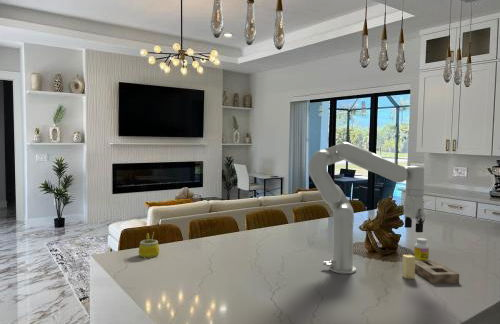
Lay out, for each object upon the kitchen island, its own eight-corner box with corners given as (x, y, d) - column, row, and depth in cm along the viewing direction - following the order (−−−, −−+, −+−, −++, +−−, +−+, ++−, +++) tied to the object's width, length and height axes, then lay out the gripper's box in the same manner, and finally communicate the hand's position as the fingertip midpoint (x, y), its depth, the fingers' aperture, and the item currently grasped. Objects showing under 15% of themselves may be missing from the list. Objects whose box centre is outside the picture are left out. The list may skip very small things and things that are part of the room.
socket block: (432, 283, 167) (432, 274, 166) (410, 268, 187) (410, 260, 186) (458, 283, 167) (459, 274, 167) (434, 268, 187) (434, 260, 187)
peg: (406, 279, 172) (406, 257, 172) (402, 276, 176) (402, 254, 176) (414, 278, 172) (415, 257, 172) (410, 275, 176) (411, 254, 176)
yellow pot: (154, 259, 200) (154, 236, 200) (135, 258, 202) (134, 235, 202) (164, 252, 213) (164, 231, 212) (146, 251, 215) (146, 230, 214)
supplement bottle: (420, 266, 190) (420, 241, 189) (411, 262, 196) (411, 237, 196) (431, 265, 192) (432, 240, 191) (422, 261, 198) (422, 237, 198)
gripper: (397, 190, 183) (396, 225, 184) (416, 195, 166) (415, 234, 166) (412, 190, 183) (411, 225, 184) (433, 195, 166) (431, 234, 167)
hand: (413, 229), depth 175 cm, fingers open, 9 cm apart
